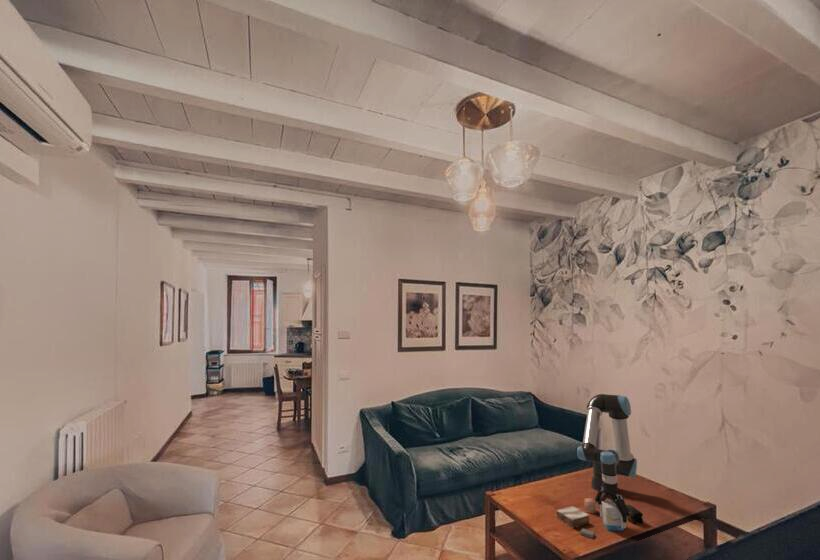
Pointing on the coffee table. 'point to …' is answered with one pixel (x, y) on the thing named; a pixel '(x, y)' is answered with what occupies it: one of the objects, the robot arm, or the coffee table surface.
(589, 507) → the tan rounded cylinder
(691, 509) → the coffee table surface
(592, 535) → the gray rectangular block
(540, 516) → the coffee table surface
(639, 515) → the sculpture
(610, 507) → the ink box
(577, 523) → the plinth
